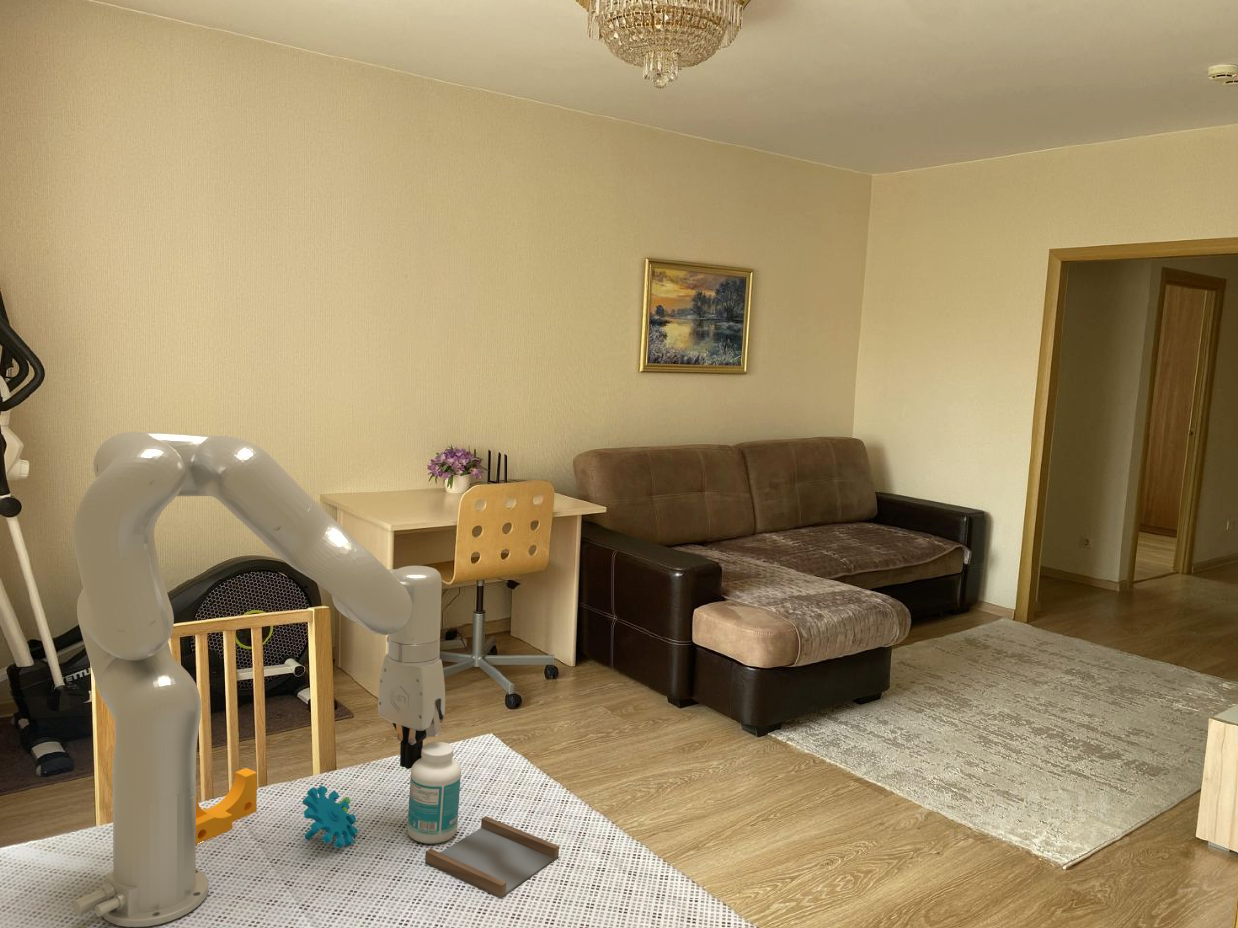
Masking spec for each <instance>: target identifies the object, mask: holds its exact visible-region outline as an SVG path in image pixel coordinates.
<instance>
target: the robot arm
mask: <svg viewBox="0 0 1238 928" xmlns="http://www.w3.org/2000/svg"><path fill="white" fill-rule="evenodd" d="M93 472H94V475H95V478H96V479H94V481H92V483H91V484H90V485H89V487H88V489H87V490H86V491H85V493H84V495H83V497H82V498H81V501H80V503H79V505H78V507H77V509H76V512H75V515H74V519H73V525H72V541H73V549H74V553H75V558H76V561H77V566H78V570H79V575H80V581H81V584H82V589H81V591H80V594H79V596H78V598H77V603H76V614H77V616H76V617H77V620H78V621H77V622H78V625H79V628H80V632H81V636H82V640H83V643H84V647H85V651H86V654H87V657H88V660H89V664H90V668H91V671H92V674H93V678H94V681H95V684H96V686H97V690H98V692H99V695H100V697H101V699H102V700H103V702H104V704H105V705H106V707H107V708H108V710H109V712H110V714H111V716H112V717H113V720H114V726H115V730H114V731H115V737H114V738H115V739H114V749H113V756H112V757H113V758H112V774H111V775H112V777H111V778H112V834H113V838H112V839H113V840H112V843H113V844H112V847H113V848H112V850H113V852H112V853H113V854H112V855H113V862H112V863H113V867H112V870H113V871H112V872H110V873H108V874H105V876H104V884H103V885H101V886H99V887H98V888H97V890H96V891H94V892H91V893H89V894H87V895H84V896H81V897H80V898H78V899H74V900H73V902H72V910H73V913H74V915H75V916H77V917H80V916H82V915H84V914H87V913H88V912H91V911H93V910H94V913H95V915H96V916H97V917H99V918H100V917H102V918H103V919H104V921H107V922H109V923H111V924H113V925H116V926H120V927H125V928H143V927H146V928H147V927H151V926H158V925H161V924H162V925H163V924H165V923H169V922H172V921H174V920H177V919H180V918H181V917H184V916H185V915H188V914H189V913H190V912H192V911H194V910H195V909H196V908H197V907H198V906H200V905H201V904H202V903H203V901H204V900H205V899H206V897H207V895H208V893H209V879H208V877H207V875H206V873H204V872H203V871H202V870H200V869H198V868H197V867H196V866H197V865H196V862H197V861H196V856H197V855H196V853H197V852H196V850H197V849H196V847H197V845H196V796H197V749H198V748H197V746H198V737H199V731H200V730H199V729H200V725H201V724H200V723H201V716H202V699H201V695H200V690H199V688H198V685H197V684H196V682H195V680H194V679H193V676H191V675H190V673H189V672H188V671H187V670H186V669H185V668H184V667H183V665H182V664H180V662H178V661H177V660H176V659H175V658H174V656H173V654H172V650H171V647H170V645H169V641H170V639H171V636H172V634H173V631H174V625H175V624H174V623H175V622H174V621H175V617H174V611H173V607H172V604H171V601H170V598H169V595H168V592H167V591H168V590H167V589H166V585H165V581H164V577H163V574H162V571H161V566H160V562H159V558H158V551H157V547H156V543H155V542H156V541H155V528H156V524H157V522H158V519H159V517H160V516H161V514H162V512H163V511H164V510H165V509H166V507H168V506H169V504H171V502H173V500H175V499H176V497H213V498H214V499H216V500H218V501H219V503H221V504H222V505H223V506H224V507H225V508H226V509H228V511H229V512H231V513H232V515H234V516H235V517H236V518H237V519H238V520H239V521H240V522H241V523H242V524H243V525H244V526H246V527H247V528H248V529H249V530H250V531H251V532H252V533H253V534H254V535H256V537H257V538H259V540H261V542H263V543H264V544H265V546H266V547H268V548H269V549H270V550H271V551H272V552H273V553H274V554H275V555H276V556H277V557H279V558H280V559H281V560H282V561H284V562H285V563H286V564H287V565H289V567H291V568H293V569H294V570H296V571H297V572H299V573H301V574H302V575H304V576H305V577H308V578H309V579H310V580H313V581H314V582H315V583H316V584H318V586H321V587H322V589H325V590H326V592H328V594H330V595H331V599H332V603H333V605H334V607H335V609H336V610H337V611H338V612H339V613H340V614H341V615H343V616H344V617H346V618H347V619H349V620H351V621H352V622H354V623H355V624H357V625H360V626H361V627H363V628H364V629H365V630H367V631H369V632H370V633H372V634H375V635H379V636H387V637H386V642H387V643H388V653H386V654H385V656H384V657H383V662H382V666H381V672H380V677H379V683H378V685H379V686H378V696H377V697H378V698H377V712H378V715H379V717H381V719H383V720H386V722H388V723H389V724H391V725H393V727H394V729H395V731H396V738H397V740H398V741H400V745H399V747H400V751H399V766H400V767H402V768H405V769H407V770H411V769H412V766H413V764H414V763H415V762H416V761H417V760H418V759H420V758H422V756H421V752H422V747H423V746H424V740H426V739H427V737H429V738H431V737H432V738H435V737H438V736H439V735H441V734H442V728H441V723H443V721H444V719H445V713H446V685H445V684H446V683H445V675H444V667H443V661H442V659H441V658H440V653H441V652H440V650H441V649H440V648H441V622H442V621H441V620H442V619H441V618H442V617H441V616H442V615H441V614H442V612H441V611H442V590H443V589H442V588H443V587H442V585H443V582H442V581H443V580H442V575H441V573H440V571H438V570H437V568H434V567H432V566H431V567H430V566H426V565H407V566H406V565H405V566H401V567H398V568H395V569H393V568H392V569H390V568H389V569H388V568H387V567H386V566H385V565H384V564H383V563H382V562H381V561H380V560H379V559H378V558H376V556H375V555H374V554H372V552H370V551H369V550H368V549H367V548H366V547H365V546H363V545H362V544H361V542H359V541H358V540H357V539H356V538H354V537H353V536H352V534H350V533H349V532H348V531H347V530H346V529H345V527H343V526H342V525H341V524H340V523H339V522H338V521H337V520H335V519H334V518H333V517H332V516H331V515H330V514H328V512H326V511H325V510H324V509H323V508H322V506H320V505H319V503H318V502H317V501H315V499H313V498H312V496H310V495H309V494H308V493H307V492H306V490H304V489H303V487H301V485H299V484H298V483H297V481H296V480H294V478H292V476H290V474H289V473H288V472H287V471H286V470H285V469H284V468H283V467H282V466H281V465H280V464H279V463H278V462H277V461H276V460H275V459H274V458H273V457H272V456H271V455H270V454H269V453H268V452H266V451H265V450H264V449H263V448H261V447H260V446H258V445H257V444H256V443H252V442H249V441H246V440H243V439H239V438H237V437H233V436H226V435H225V436H224V435H204V434H203V435H201V434H199V435H198V434H182V433H179V434H178V433H177V434H176V433H165V432H163V433H162V432H149V431H148V432H147V431H127V432H126V431H125V432H122V433H118V434H115V435H112V436H111V437H109V438H107V439H106V440H105V441H104V442H103V443H102V444H100V446H99V447H98V449H97V451H96V453H95V455H94V459H93Z"/></svg>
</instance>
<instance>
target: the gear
mask: <svg viewBox="0 0 1238 928" xmlns="http://www.w3.org/2000/svg"><path fill="white" fill-rule="evenodd" d="M306 792H307V793H306V794H307V796H305V797H304V798H303V799H302V801H301V803H302V804H303V805H304V806H306V807H307V808H306V809H305V810H304V811H303V817H304V819H306V820H307V819H308V820H310V819H311V820H313V821H314V822H312V823H311V825H310V829H309V830H308V831H306V833H304V838H305V840H307V841H309V840H311V839H312V838H313V837H314V836H315V835H316V834H317V833H319V832H320V831H325V834H324V835H322V836H321V840H322V841H323V842H324V843H325V844H326V845H329V844H330V843H331V842H332V841H333V838H334V837H335V838H336V840H335V841H334V842H333V846H334V847H335V848H338V849H342V848H343V847H344V846H346V847H347V846H351V845H352V844H353V843H354V842H355V839H354V837H355V836H356V835H357V834H358V833H359V828H357V827H356V826H354V824H355V823H356V822H357V818H356V817H357V816H356V815H355V814H354V813H353V814H350V813H349V809H350V808H351V807H350V805H349V804H350V803H351V799H350V797H348V796H346V797H344V798H343V799H341V800H340V802H338V803H337V802H336V800H338V799H339V797H340V795H339V793H338V792H337V791H336V790H332V791H331V792H330V793H329V794H328V797H327V796H326V794H327V792H328V787H325V786H324V785H320V786H319V787H318V788H317V787H311V788H309V790H307V791H306ZM333 836H334V837H333Z"/></svg>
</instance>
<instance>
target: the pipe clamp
mask: <svg viewBox="0 0 1238 928" xmlns="http://www.w3.org/2000/svg"><path fill="white" fill-rule="evenodd" d="M234 773H235V775H234V780H233V783H232V786H231V787H230V789H229V791H228V792H227V794H226V795H225V796H224V797H223V799H222V800H220V801H219V802H217V804H215V805H213V806H211V807H209V808H208V807H207V808H201V806H200V804H199V800H198V798H199V797H198V796H197V795H196V844H198V843H200V842H202V841H205V840H207V841H209V840H208V839H210V838H212V839H213V837H214V838H217V837H218V836H220V835H223V834H224V833H227V832H229V831H231V830H233V823H234V822H236V821H238V820H240V819H242V818H244V817H245V818H246V817H247V816H249V815H251V814H254V813H256V812H257V806H258V805H257V803H258V799H257V798H258V791H257V790H258V772H257V771H254V770H252V769H251V768H250V769H249V768H248V767H245V768H242V769H239V770H237V771H235V772H234ZM230 829H231V830H230ZM228 830H229V831H228ZM222 833H223V834H222ZM210 840H211V839H210ZM205 842H206V841H205Z"/></svg>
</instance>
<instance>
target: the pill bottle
mask: <svg viewBox="0 0 1238 928" xmlns="http://www.w3.org/2000/svg"><path fill="white" fill-rule="evenodd" d="M421 756H422V758H420V759H418V760H417V761H416V762H415V763H414V764H413V766H412V768H410V779H409V781H410V782H409V795H408V812H407V813H408V814H407V832H408V836H410V837H411V838H412V839H413V840H414V841H416V842H419V843H422V844H427V845H428V844H433V845H434V844H441V843H444V842H446V841H449V840H450V839H452V838H453V837H454V836H455V835H456V833H457V831H458V821H459V819H458V818H459V808H460V807H459V806H460V794H461V793H460V792H461V791H460V790H461V777H462V768H461V765H460V763H459V762H458V761H457V760H456V759H455V758H454V747H453V745H451V744H449V743H447V742H443V741H433V742H428V743H426V744H423V747H422V752H421Z"/></svg>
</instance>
